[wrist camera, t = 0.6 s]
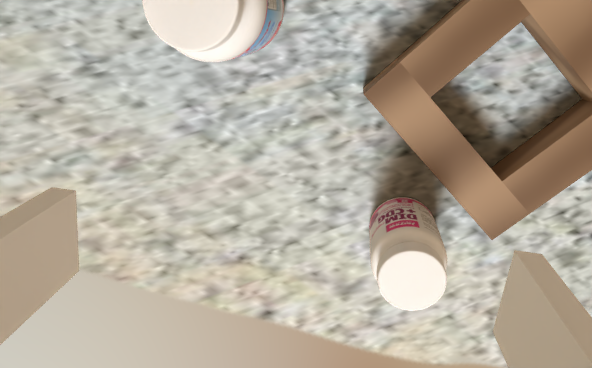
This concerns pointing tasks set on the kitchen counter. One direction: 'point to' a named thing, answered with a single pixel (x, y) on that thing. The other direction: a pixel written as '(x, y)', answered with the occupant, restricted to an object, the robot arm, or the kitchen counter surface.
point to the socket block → (451, 143)
